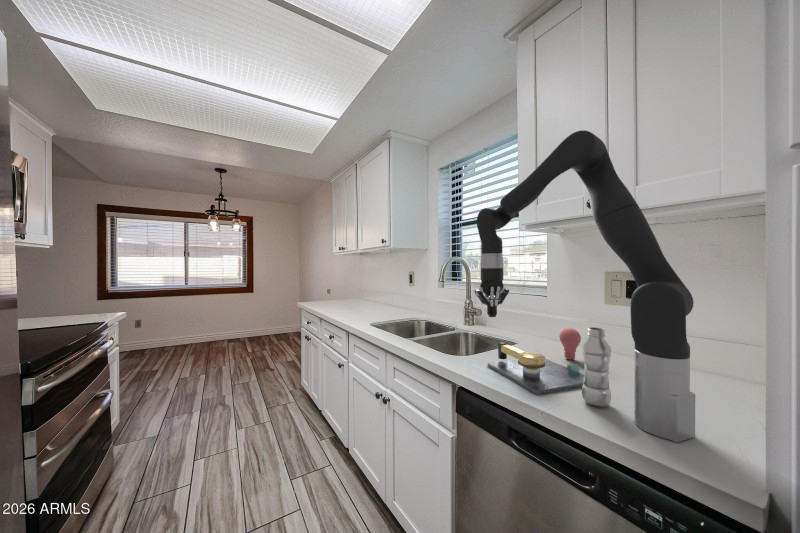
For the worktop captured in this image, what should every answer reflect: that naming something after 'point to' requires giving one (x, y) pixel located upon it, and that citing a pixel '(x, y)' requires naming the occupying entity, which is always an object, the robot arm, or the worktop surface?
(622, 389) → the worktop surface
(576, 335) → the light bulb
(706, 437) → the worktop surface
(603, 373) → the plastic bottle
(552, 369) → the base
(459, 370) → the worktop surface
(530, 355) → the gold long piece
